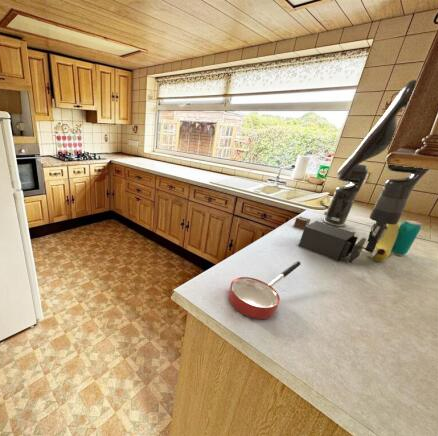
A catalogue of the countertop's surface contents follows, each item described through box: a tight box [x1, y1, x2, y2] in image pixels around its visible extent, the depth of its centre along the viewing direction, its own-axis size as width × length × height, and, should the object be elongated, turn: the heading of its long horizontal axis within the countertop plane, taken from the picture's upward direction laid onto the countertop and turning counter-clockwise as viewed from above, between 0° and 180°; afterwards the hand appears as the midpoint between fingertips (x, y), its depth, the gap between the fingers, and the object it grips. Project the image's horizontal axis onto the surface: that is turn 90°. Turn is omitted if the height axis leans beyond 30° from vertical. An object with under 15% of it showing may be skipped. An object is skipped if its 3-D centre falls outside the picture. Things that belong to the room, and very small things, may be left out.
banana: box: [369, 222, 400, 262], centre depth 95 cm, size 23×6×20 cm, turn 132°
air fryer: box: [298, 220, 356, 262], centre depth 101 cm, size 15×13×10 cm
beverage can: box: [390, 219, 423, 257], centre depth 100 cm, size 6×6×15 cm
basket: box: [339, 235, 377, 264], centre depth 96 cm, size 18×11×8 cm, turn 37°
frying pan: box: [227, 260, 301, 320], centre depth 73 cm, size 32×13×6 cm, turn 130°
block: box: [293, 216, 311, 231], centre depth 123 cm, size 5×5×5 cm
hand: (368, 251), depth 90 cm, fingers closed
